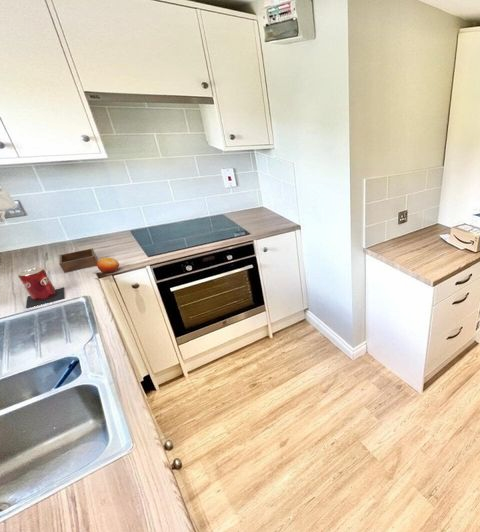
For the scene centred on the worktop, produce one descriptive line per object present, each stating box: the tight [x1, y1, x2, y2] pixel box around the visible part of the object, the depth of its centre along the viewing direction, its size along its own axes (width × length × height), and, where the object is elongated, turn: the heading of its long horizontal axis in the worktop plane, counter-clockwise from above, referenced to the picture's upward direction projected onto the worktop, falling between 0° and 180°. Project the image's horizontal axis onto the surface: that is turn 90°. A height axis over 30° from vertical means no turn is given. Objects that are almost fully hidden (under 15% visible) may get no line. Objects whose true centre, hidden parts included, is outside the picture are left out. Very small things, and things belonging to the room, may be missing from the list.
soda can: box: [17, 267, 57, 301], centre depth 130 cm, size 7×7×12 cm
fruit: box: [96, 256, 120, 275], centre depth 153 cm, size 8×8×8 cm
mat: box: [25, 287, 66, 309], centre depth 133 cm, size 11×11×1 cm
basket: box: [58, 247, 99, 274], centre depth 159 cm, size 13×13×5 cm
